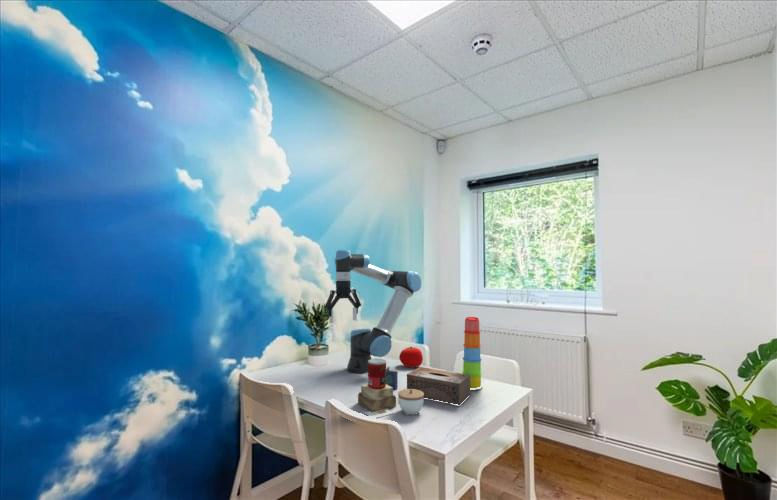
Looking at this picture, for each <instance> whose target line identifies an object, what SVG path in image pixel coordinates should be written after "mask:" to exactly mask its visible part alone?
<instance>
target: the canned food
mask: <svg viewBox="0 0 777 500" xmlns="http://www.w3.org/2000/svg"><path fill="white" fill-rule="evenodd" d="M386 369H387V360H386V359H383V358H371V359H370V360H368V372H367V384H368V386H369V387H370V388H372V389H382V388H385V386H386Z"/></svg>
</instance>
